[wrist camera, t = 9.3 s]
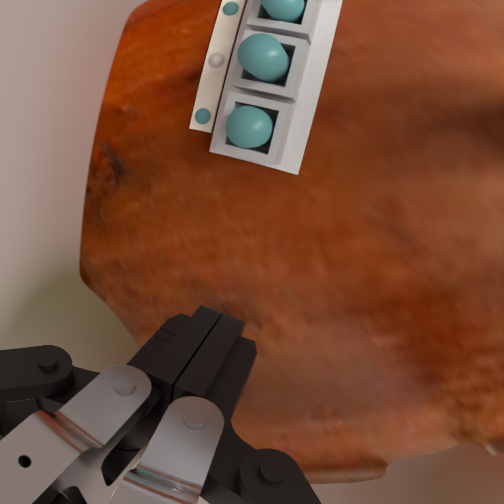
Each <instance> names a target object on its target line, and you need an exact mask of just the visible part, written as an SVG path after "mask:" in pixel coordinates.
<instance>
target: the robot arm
mask: <svg viewBox="0 0 504 504" xmlns="http://www.w3.org/2000/svg"><path fill="white" fill-rule="evenodd" d="M244 326H245V321H243V320H240V319H237V318H235V317H232V316H229V315H227V314H223V313H221V312H218V311H216V310H213V309H211V308H208V307H205V306H203V305H201V306H200V307H199V308H198V309H197V310H196V312H195V313H194V314H193V315H192V316H191V317H189V316H187V315H184V314H182V313H181V314H179V315H176V316H174V317H172V318H169V319H168V320H167V321H166V322H165V323H164V324H163V325H162V326H161V327H160V329H159V330H158V331H157V332H156V333H155V334H154V335H153V337H151V338H150V339H149V340H148V341H147V343H146V344H145V345H144V346H143V347H142V348H141V349H140V350H139V351H138V352H137V353H136V355H135V356H134V357H133V358H132V359H131V360H130V361H129V362H128V363H127V364H126V365H115V366H111V367H109V368H107V369H105V370H104V371H103V372H102V373H97V372H93V371H89V370H85V369H81V368H78V367H74V366H73V365H72V359H71V357H70V355H69V354H68V353H67V352H66V351H65V350H64V349H62V348H60V347H57V346H53V345H43V346H35V347H28V348H19V349H9V350H0V504H196V503H197V501H198V498H199V496H201V497H202V498H203V499H204V500H206V501H207V502H208V503H210V504H321V502H320V501H319V499H318V497H317V496H316V494H315V492H314V491H313V489H312V488H311V486H310V484H309V483H308V481H307V479H306V478H305V476H304V474H303V473H302V471H301V469H300V468H299V466H298V464H297V463H296V462H295V460H294V459H293V458H291V457H290V456H289V455H287V454H286V453H284V452H281V451H279V450H275V449H259V450H256V449H254V448H253V447H252V446H250V445H249V444H247V443H246V442H244V441H243V440H242V439H241V438H240V437H239V436H238V435H237V434H236V432H235V431H234V429H233V427H232V424H231V418H232V416H233V414H234V412H235V409H236V407H237V405H238V402H239V400H240V398H241V395H242V393H243V391H244V388H245V386H246V383H247V381H248V378H249V375H250V372H251V369H252V367H253V364H254V361H255V358H256V355H257V351H256V345H255V341H252V340H249V339H246V338H244V337H241V336H242V333H243V329H244ZM34 398H35V399H34ZM27 399H29V400H27ZM19 400H21V401H19ZM10 401H13V402H10ZM140 458H141V459H140ZM139 459H140V461H139V463H138V464H137V466H136V467H135V468H134V469H132V468H133V467H134V465H135V464H136V463H137V462H138V460H139ZM118 485H119V486H118ZM117 486H118V488H117ZM116 488H117V489H116ZM115 489H116V491H115V493H114V495H113V497H112V499H111V496H112V494H113V492H114V490H115Z"/></svg>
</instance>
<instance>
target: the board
mask: <svg viewBox="0 0 504 504" xmlns="http://www.w3.org/2000/svg"><path fill="white" fill-rule="evenodd" d="M342 1H343V0H304V3H305V7H306V9H305V13H304V16H303V20H302V24H301V25H299V24H294V23H288V22H282V21H276V20H271V18H270V16H269V15H268V13H267V12H266V10H265V8H264V7H263V5H262V4H261V2H260V0H248V1H247V4H246V8H245V11H244V15H243V18H242V22H241V25H240V29H239V32H238V36H237V39H236V43H235V47H234V50H233V54H232V58H231V62H230V66H229V70H228V73H227V77H226V81H225V85H224V89H223V94H222V98H221V102H220V106H219V110H218V115H217V119H216V123H215V128H214V132H213V137H212V141H211V146H210V150H209V152H213V153H217V154H221V155H226V156H230V157H234V158H237V159H241V160H245V161H249V162H253V163H257V164H260V165H264V166H268V167H271V168H275V169H278V170H282V171H285V172H289V173H292V174H296V175H298V173H299V170H300V166H301V162H302V159H303V155H304V151H305V147H306V144H307V140H308V136H309V132H310V129H311V125H312V121H313V117H314V113H315V110H316V106H317V102H318V98H319V94H320V90H321V86H322V83H323V79H324V75H325V71H326V67H327V63H328V59H329V55H330V51H331V47H332V43H333V38H334V34H335V30H336V26H337V22H338V18H339V14H340V9H341V5H342ZM257 33H265V34H269V35H271V36H273V37H275V38H276V39H277V40H278V41H279V42H280V44H281V46H282V47H283V49H284V50H285V52H286V53H287V55H288V57H289V59H290V62H291V66H290V70H289V74H288V75H287V77H286V78H285V79H283V80H282V81H280V82H277V83H265V82H262V81H261V80H259V79H258V78H256V77H255V76H254V75H252V74H251V73H249V72H248V71H247V70H245V69H244V68H243V67H242V66H241V65H240V63H239V61H238V56H237V52H238V48H239V46H240V44H241V43H242V41H243V40H244V39H246V38H247V37H249V36H250V35H253V34H257ZM242 106H252V107H255V108H258V109H260V110H263V111H266V112H268V113H270V114H271V115H272V116H273V117H274V118H275V120H276V125H275V129H274V133H273V137H272V141H271V143H269V144H268V145H265V146H260V147H251V148H243V147H239V146H237V145H235V144H234V143H232V142H231V141H230V139H229V138H228V136H227V133H226V121H227V118H228V116H229V115H230V114H231V112H233V111H234V110H235V109H237V108H239V107H242Z"/></svg>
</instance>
